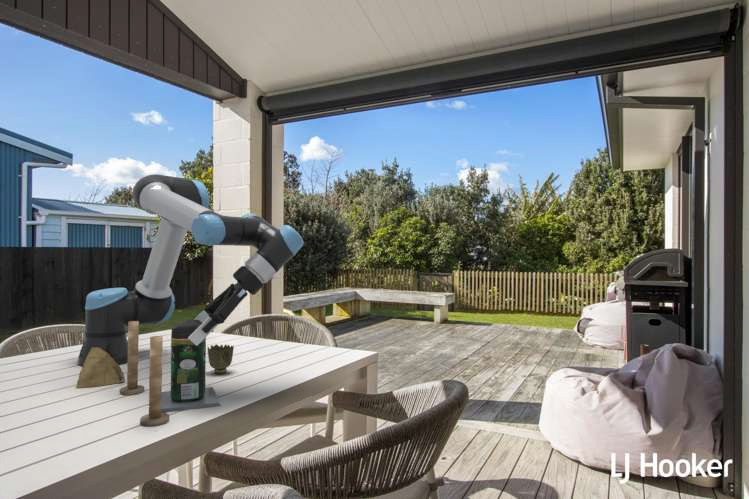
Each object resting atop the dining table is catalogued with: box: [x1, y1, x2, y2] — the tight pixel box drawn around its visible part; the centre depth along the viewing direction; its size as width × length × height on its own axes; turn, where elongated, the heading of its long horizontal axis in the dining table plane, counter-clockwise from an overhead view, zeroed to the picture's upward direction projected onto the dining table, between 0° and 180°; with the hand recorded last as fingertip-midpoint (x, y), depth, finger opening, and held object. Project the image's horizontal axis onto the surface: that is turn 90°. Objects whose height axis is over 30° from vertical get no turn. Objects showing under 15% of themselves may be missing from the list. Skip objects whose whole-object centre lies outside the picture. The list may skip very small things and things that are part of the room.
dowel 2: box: [139, 335, 170, 428], centre depth 101 cm, size 6×6×18 cm
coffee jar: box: [170, 319, 207, 402], centre depth 116 cm, size 10×8×19 cm
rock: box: [75, 347, 126, 389], centre depth 128 cm, size 11×9×10 cm
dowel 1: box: [119, 321, 145, 396], centre depth 122 cm, size 6×6×18 cm
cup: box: [207, 344, 235, 375], centre depth 141 cm, size 8×7×8 cm
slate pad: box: [161, 386, 221, 413], centre depth 116 cm, size 13×14×1 cm
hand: (190, 337), depth 115 cm, fingers open, 13 cm apart
